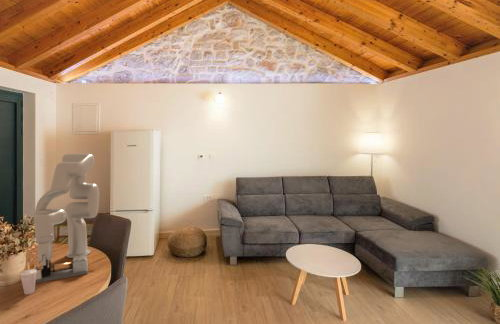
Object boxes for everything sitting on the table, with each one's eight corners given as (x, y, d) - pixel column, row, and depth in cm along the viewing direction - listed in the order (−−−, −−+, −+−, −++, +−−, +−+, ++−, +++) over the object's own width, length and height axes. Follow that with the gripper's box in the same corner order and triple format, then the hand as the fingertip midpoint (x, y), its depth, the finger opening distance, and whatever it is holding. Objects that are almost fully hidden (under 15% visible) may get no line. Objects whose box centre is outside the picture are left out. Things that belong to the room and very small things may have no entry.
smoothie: (24, 297, 133) (22, 266, 132) (18, 293, 136) (15, 263, 135) (40, 291, 138) (39, 261, 137) (34, 287, 142) (32, 258, 140)
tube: (38, 273, 151) (37, 265, 151) (75, 267, 158) (74, 259, 158) (36, 276, 148) (36, 268, 147) (74, 269, 155) (74, 262, 154)
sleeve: (74, 268, 159) (73, 257, 159) (87, 266, 162) (86, 255, 161) (73, 273, 154) (72, 261, 153) (86, 270, 156) (86, 259, 156)
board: (35, 276, 153) (34, 274, 152) (87, 267, 163) (87, 265, 163) (31, 283, 145) (31, 281, 145) (87, 273, 156) (87, 271, 156)
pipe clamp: (45, 268, 162) (43, 256, 162) (52, 268, 161) (50, 256, 161) (24, 278, 150) (22, 266, 150) (31, 278, 149) (29, 266, 149)
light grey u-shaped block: (35, 274, 152) (35, 265, 151) (43, 273, 153) (42, 264, 153) (33, 280, 146) (32, 270, 146) (41, 278, 148) (40, 269, 147)
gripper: (39, 234, 155) (41, 268, 157) (32, 244, 141) (34, 282, 142) (56, 232, 159) (58, 266, 160) (51, 242, 144) (53, 279, 146)
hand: (47, 273), depth 151 cm, fingers closed on tube, 3 cm apart
